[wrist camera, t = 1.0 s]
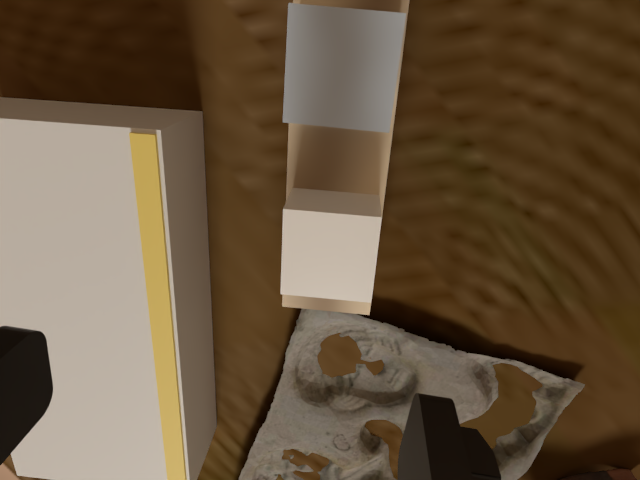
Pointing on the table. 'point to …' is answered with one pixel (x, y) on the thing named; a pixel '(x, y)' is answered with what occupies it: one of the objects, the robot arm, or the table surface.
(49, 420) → the white rectangular box
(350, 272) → the cream white block
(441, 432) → the robot arm
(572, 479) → the pottery mug
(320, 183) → the tan long block
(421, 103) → the table surface
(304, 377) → the stone relief
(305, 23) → the grey block
